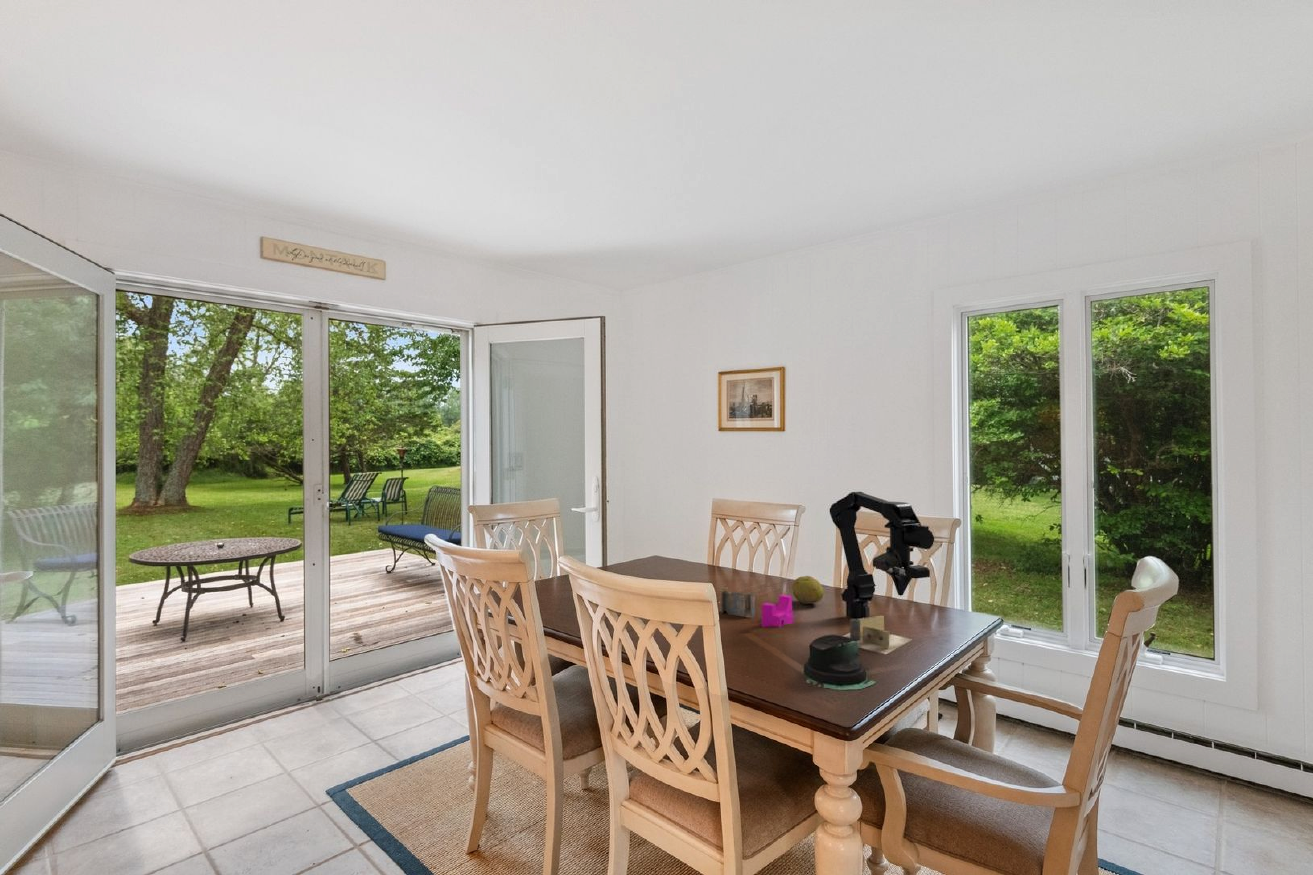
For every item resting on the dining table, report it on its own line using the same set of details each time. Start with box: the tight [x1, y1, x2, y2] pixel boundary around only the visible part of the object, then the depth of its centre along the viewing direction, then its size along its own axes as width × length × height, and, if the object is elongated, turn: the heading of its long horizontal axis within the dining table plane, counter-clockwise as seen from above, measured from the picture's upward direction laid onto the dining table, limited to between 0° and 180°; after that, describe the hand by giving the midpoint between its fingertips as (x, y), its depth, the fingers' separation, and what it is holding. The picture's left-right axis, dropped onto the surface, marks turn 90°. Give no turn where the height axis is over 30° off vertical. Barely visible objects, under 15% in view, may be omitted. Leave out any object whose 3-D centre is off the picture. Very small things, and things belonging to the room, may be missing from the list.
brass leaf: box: [857, 615, 885, 637], centre depth 182 cm, size 8×1×5 cm, turn 109°
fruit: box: [791, 575, 825, 605], centre depth 222 cm, size 11×12×10 cm
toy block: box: [761, 594, 794, 628], centre depth 200 cm, size 15×6×8 cm, turn 144°
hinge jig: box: [842, 618, 913, 655], centre depth 178 cm, size 16×17×7 cm
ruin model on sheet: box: [720, 586, 756, 619], centre depth 209 cm, size 11×3×10 cm, turn 58°
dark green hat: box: [803, 634, 877, 691], centre depth 157 cm, size 20×20×9 cm
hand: (900, 595), depth 185 cm, fingers closed
